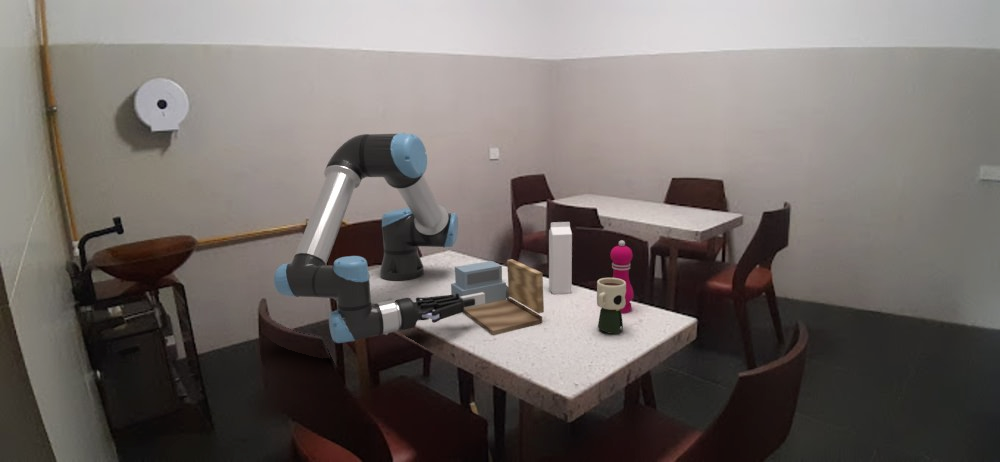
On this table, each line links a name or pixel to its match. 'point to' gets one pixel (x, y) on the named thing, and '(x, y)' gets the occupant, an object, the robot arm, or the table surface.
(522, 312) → the flatbed
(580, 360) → the table surface
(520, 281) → the side gate
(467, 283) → the cab
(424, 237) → the robot arm
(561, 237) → the milk
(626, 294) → the pepper mill
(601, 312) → the character mug
